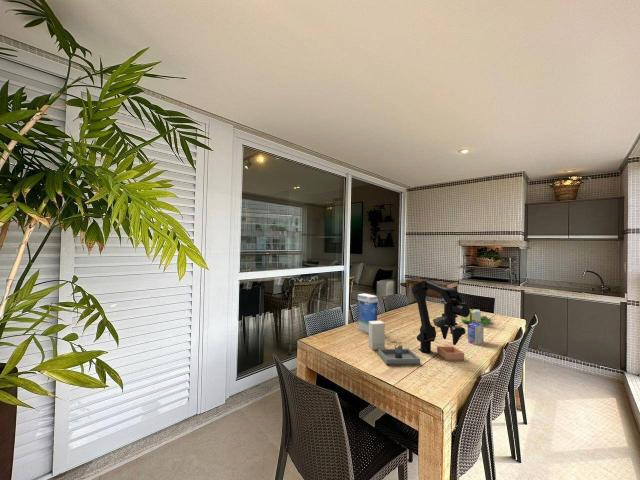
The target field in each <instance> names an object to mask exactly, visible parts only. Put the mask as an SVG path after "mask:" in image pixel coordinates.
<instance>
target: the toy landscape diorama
mask: <svg viewBox="0 0 640 480" xmlns="http://www.w3.org/2000/svg"><path fill="white" fill-rule="evenodd" d="M469 310H470V314H469V316H468V317H462V316H460V318H461V322H462V323H464V324H471V323H473V322H475V321H476V322H477V323H481V324H483V326H486V325H489V324H490V323H491V321H493V320H492V319H491V318H489V317H488V316H486V315H482V314H481V310H480V309H474V308H472V309H471V308H470V307H469ZM472 320H475V321H473V322H472Z"/></svg>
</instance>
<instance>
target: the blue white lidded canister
mask: <svg viewBox="0 0 640 480" xmlns="http://www.w3.org/2000/svg"><path fill="white" fill-rule="evenodd" d="M369 321H378V295H374V294H369V293H358V294H357V330H359V331H361V332H364V333H366V334H368V335H369Z"/></svg>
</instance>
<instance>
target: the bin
mask: <svg viewBox="0 0 640 480" xmlns="http://www.w3.org/2000/svg"><path fill="white" fill-rule="evenodd" d="M436 354H437V355H438V356H440V357H441V358H442V359H444V361H447V362H449V361H450V362H451V361H452V362H453V361H454V362H455V361H456V362H457V361H465V352H463V351H462V350H461V349H459V348H458V347H456V346H455V345H453V346H452V345H449V346H448V345H447V346H444V345H443V346H441V345H439V346H438V345H437V347H436Z"/></svg>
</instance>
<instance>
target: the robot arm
mask: <svg viewBox="0 0 640 480" xmlns="http://www.w3.org/2000/svg"><path fill="white" fill-rule="evenodd" d="M429 290H431V291H433V292H435V293H437V294H439V296H440V297H441V298H442V300H441V301H440V302H441V303H442V304H443V312H442V313H441V316H438V317H436V318H433V319H432V321H433V324H434V325H432V323H431V321H430V315H429V310H428V306H427V300H426V299H427V296H428V291H429ZM411 293H412V296H413V297H414V299H415V300H416V302H417V303H416V304H417V308H418V312H419V318H420V323H421V325H420V329H419V334H418V335H417V336H416V339H417V341H418V342H420V348H417V350H418V351H419V352H421V354H433V353H434V351H432V343H433V342H435V340H436V337H437V332H436V328H439V329H440V331H441V335H442V339H443V340H447V336H448V333H450V334H451V336H452V344H453V346H456V345H457V344H458V342H459V340H460V338H461V337H462V336H464V335H465V334H466V329H465V328H464V327H463V326H460V325H458V323H457V322H456V321H457V318H458V316H459V317H468V316H469V314H470V310H471V309H470V310H469V308H470V307H469V306H468V305H467V304H468V303H465V302H463V299H462V297H461V296H460V293H459V292H458V290H457V288H453V287H447V286H443V285H442V284H441V285H440V284H438V283H437V282H435V281H432V280H430V279H423V280H421V281H420V282H418V283H415V284H414V285H412V287H411ZM449 331H450V332H449Z"/></svg>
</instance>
